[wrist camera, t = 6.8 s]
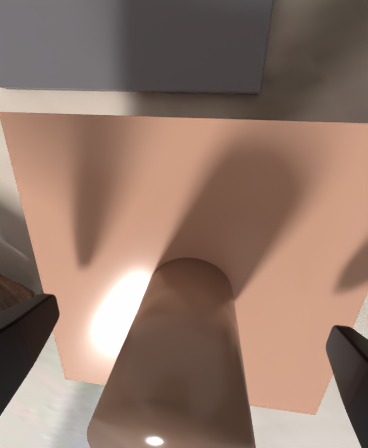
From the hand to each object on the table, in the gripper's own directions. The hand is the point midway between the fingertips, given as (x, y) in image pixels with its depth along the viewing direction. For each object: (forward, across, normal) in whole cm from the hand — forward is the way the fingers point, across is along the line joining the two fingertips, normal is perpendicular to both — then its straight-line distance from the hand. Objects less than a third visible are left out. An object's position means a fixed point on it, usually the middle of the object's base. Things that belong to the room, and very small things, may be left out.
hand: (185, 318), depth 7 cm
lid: (+2, 0, 0) cm, 2 cm away
